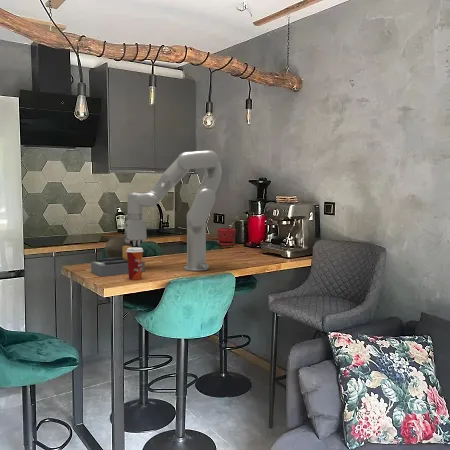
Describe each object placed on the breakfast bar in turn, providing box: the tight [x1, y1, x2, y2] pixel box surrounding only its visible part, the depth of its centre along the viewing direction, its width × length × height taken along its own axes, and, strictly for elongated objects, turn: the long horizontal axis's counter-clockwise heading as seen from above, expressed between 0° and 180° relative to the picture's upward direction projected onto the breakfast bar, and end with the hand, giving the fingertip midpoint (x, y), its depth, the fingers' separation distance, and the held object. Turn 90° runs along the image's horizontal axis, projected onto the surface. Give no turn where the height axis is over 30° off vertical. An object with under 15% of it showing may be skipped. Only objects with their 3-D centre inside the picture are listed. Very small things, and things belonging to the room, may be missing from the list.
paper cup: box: [126, 246, 144, 281], centre depth 209 cm, size 8×8×14 cm
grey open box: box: [90, 257, 146, 278], centre depth 225 cm, size 14×22×6 cm, turn 126°
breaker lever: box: [123, 245, 132, 260], centre depth 228 cm, size 5×3×8 cm, turn 36°
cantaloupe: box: [104, 236, 132, 258], centre depth 244 cm, size 14×14×15 cm
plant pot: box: [216, 227, 237, 247], centre depth 328 cm, size 13×13×12 cm
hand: (135, 253), depth 230 cm, fingers closed
